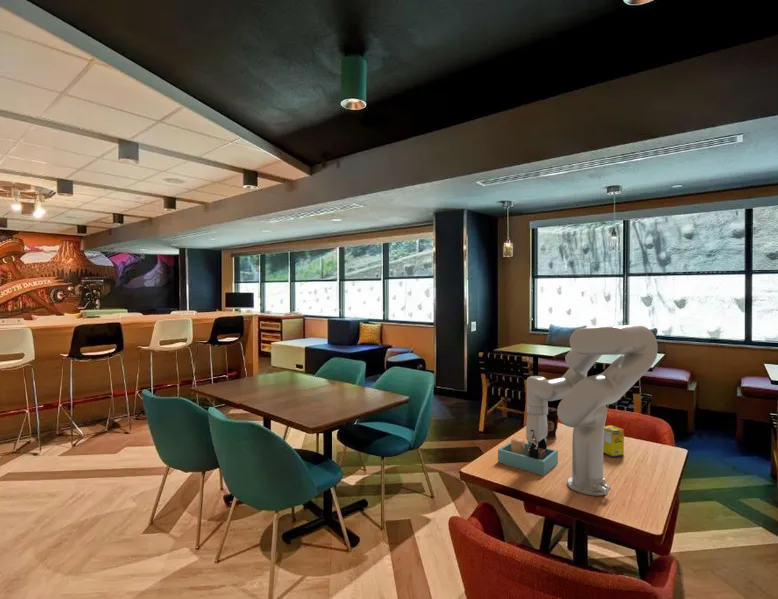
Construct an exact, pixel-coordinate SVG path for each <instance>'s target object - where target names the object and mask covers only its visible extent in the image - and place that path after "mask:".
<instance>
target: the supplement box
mask: <svg viewBox="0 0 778 599" xmlns="http://www.w3.org/2000/svg"><path fill="white" fill-rule="evenodd" d="M624 430H625V429H623V428H620V427H618V426H615V425H611V424H610V425H605V427H604V444H603V453H604V454H603V455H605V454H606V455H605V456H608V457H611V458H613V459H614V458H615V459H616V458H620V457H624V455H625V454H624V450H625V449H624V448H625V446H624V445H625V444H624V443H625V431H624Z"/></svg>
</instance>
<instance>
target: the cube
mask: <svg viewBox="0 0 778 599" xmlns="http://www.w3.org/2000/svg"><path fill="white" fill-rule="evenodd" d="M537 449H538V459H539V460H543V459H545V458H546V450H545V449H541V448H537ZM527 456H528V457H530V455H529V449H528V450H527Z"/></svg>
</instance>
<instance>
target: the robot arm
mask: <svg viewBox="0 0 778 599" xmlns="http://www.w3.org/2000/svg"><path fill="white" fill-rule="evenodd" d="M569 345H570V350H569V351H568V352H567V354H566V355H565V357H564V359H565V363H566V365H567V366H568V369H567V371H566V372H565V373H564V374H563V375H561V377H557V378H551V379H547V378H546V377H544V376H539V375H533V376H532V375H531V376H528V377H527V378H526V413H527V416H526V425H525V426H526V427H525V430H526V431H525V438H526V440H527V443H528V444H529V455H530V457H532V458H535V459H538V449H537V447H538V448H541V449H545V450H546V453H547V448H548V447H547V442H548V440H547V438H546V437H547V434H548V424H547V414H548V407H549V405H548V404H549V402H554V401H558V400H560V401H559V403H558V406H557V408H556V409H557V414H558V421H560V422H561V424H563V425H564V426H566V427H568V428H572V429H573V430H572V449H571V451H572V454H571V455H572V456H571V458H572V461H571V464H572V467H571V468H572V469H571V470H572V474H571V477H568V479H567V481H566V482H567V483H566V484H567V486H568V487H569V488H570V489H571V490H572V491H574V492H576V493H579V494H582V495H585V496H593V497H594V496H604V495H605V496H606V495H608V494H609V492H611V490H612V487H611V486H609V485H607V483H606V478H605V477H604V454H603V444H604V427H605V426H606V420H607V414H608V412H607V411H608V410H607V409H608V408H607V405H611V404H614V403H616V402H618V401H619V400H620V399H621V398H622V397H623V396H624V395H625V394H626V393H627V392H628V391H629V390H630V389H631V388H632V387H633V386H634V385H636V383H637V382H638V381H639V380H640V379H641V377H643V376H644V375H645V374H646V373H647V372H648V371H649V370H650V369H651V367H652V366H653V364H654V363H655V361H656V358H657V356H658V349H659V348H658V341H657V338H656V336H655V334H654V333H653V331H652V330H650V329H649V328H648V327H646V326H644V325H639V324H626V325H613V326H602V327H599V326H589V327H588V326H587V327H580V328H577V329H575V330H574V331H573V332H572V333H571V335H570V337H569ZM605 355H607V356H611V355H613V356H615V355H617V356H618V355H620V356H619V357H617V358H616V359H615V360H613V361H612V363H611V364H610V365H609V366H608V367H607V368H606V369H605V370H604V371H603V372H601V373H598V374H595V375H590V376H588V372H589V370H590V369H592V367H593V366H594V364H595V363H596V362H597V361H598V360H599V359H600V358H601V357H602V356H605Z"/></svg>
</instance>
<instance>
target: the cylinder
mask: <svg viewBox="0 0 778 599" xmlns="http://www.w3.org/2000/svg"><path fill="white" fill-rule="evenodd" d="M510 442H511V452H513V453H517V454H520V455H524V443H525V439H523V438H520V437H513V438H511V440H510Z"/></svg>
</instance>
